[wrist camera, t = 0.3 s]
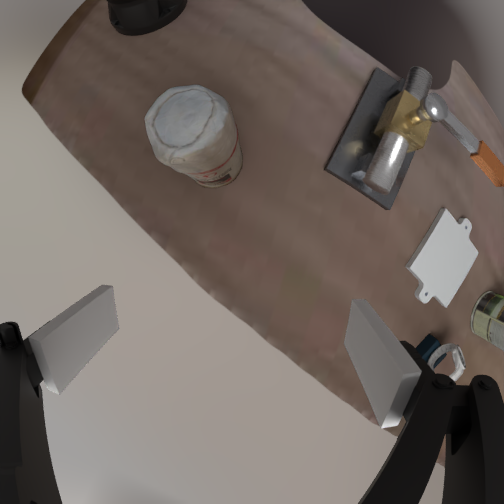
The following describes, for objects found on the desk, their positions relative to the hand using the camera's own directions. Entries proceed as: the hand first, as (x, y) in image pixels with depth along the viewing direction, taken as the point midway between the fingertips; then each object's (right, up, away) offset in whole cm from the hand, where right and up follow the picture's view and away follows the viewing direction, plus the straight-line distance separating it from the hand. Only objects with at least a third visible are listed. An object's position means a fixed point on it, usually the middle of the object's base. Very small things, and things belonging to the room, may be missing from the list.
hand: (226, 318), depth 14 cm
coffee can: (+53, -10, +30) cm, 62 cm away
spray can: (-4, +17, +26) cm, 31 cm away
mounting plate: (+36, +2, +29) cm, 46 cm away
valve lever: (+29, +18, +12) cm, 36 cm away
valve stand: (+23, +23, +25) cm, 41 cm away
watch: (+36, -16, +31) cm, 50 cm away
